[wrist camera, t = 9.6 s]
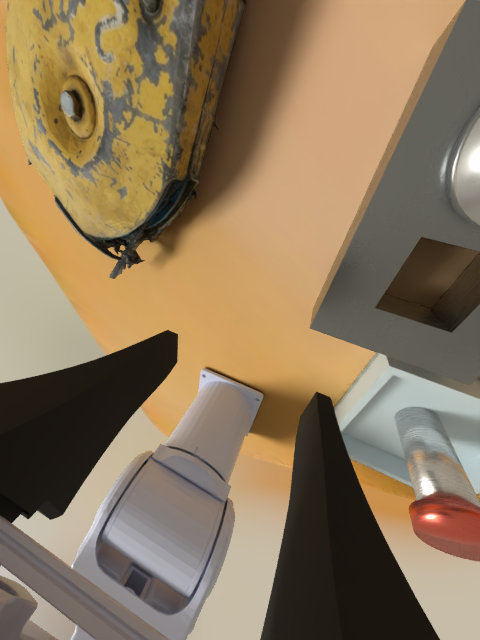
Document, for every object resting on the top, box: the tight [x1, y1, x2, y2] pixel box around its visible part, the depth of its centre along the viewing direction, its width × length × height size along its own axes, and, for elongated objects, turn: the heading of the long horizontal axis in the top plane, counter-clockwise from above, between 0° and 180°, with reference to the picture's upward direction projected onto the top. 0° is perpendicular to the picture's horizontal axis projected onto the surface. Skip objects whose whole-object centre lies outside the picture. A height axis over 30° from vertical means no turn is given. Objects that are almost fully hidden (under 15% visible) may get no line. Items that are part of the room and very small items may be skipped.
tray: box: [334, 353, 480, 494], centre depth 18 cm, size 12×12×2 cm
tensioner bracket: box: [310, 0, 480, 385], centre depth 11 cm, size 14×10×4 cm
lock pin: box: [394, 407, 480, 561], centre depth 15 cm, size 4×4×8 cm
